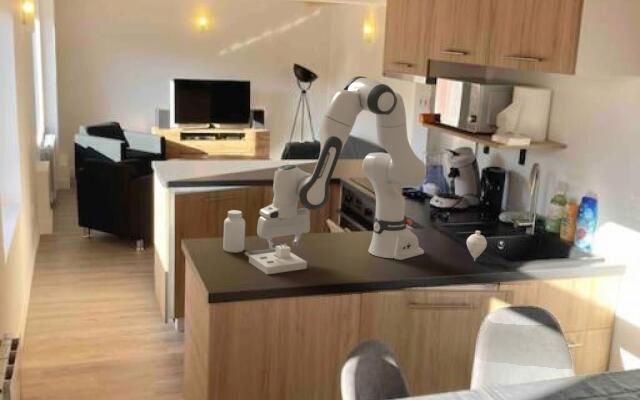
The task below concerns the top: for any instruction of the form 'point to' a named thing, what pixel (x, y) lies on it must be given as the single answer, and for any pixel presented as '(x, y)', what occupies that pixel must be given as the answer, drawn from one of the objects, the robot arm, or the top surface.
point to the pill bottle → (234, 232)
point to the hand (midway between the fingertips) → (283, 246)
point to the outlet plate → (277, 263)
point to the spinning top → (476, 244)
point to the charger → (282, 251)
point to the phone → (259, 252)
